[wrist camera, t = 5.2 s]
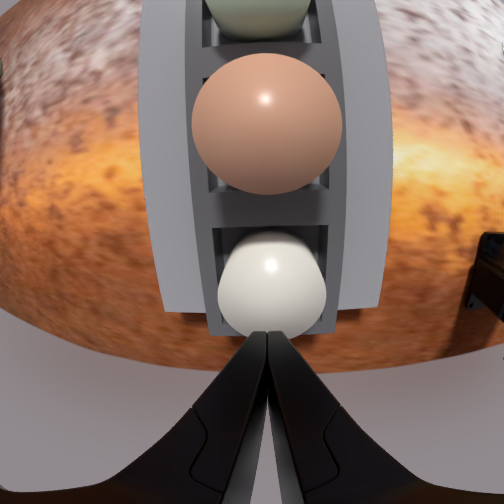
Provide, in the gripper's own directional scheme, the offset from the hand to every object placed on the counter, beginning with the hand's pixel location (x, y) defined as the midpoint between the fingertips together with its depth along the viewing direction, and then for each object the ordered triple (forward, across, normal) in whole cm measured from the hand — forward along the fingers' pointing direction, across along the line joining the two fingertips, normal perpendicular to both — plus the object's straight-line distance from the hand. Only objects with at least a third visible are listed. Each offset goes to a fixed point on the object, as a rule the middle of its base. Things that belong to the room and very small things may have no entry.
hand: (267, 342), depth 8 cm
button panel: (+9, 0, -6) cm, 10 cm away
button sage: (+5, 0, -12) cm, 13 cm away
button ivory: (+5, 0, 0) cm, 5 cm away
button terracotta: (+4, 0, -6) cm, 7 cm away
